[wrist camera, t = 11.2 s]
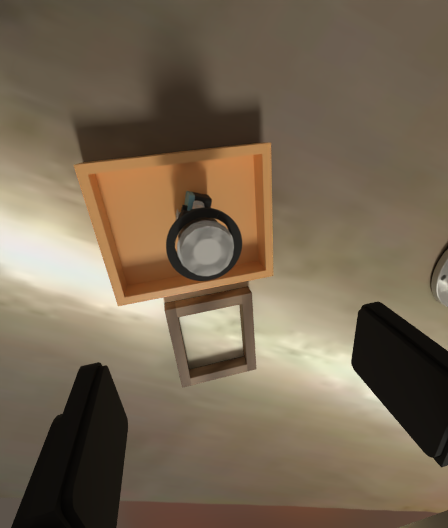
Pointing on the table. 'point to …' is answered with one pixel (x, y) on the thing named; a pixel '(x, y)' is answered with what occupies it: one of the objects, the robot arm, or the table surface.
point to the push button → (203, 240)
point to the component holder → (203, 305)
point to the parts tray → (164, 213)
